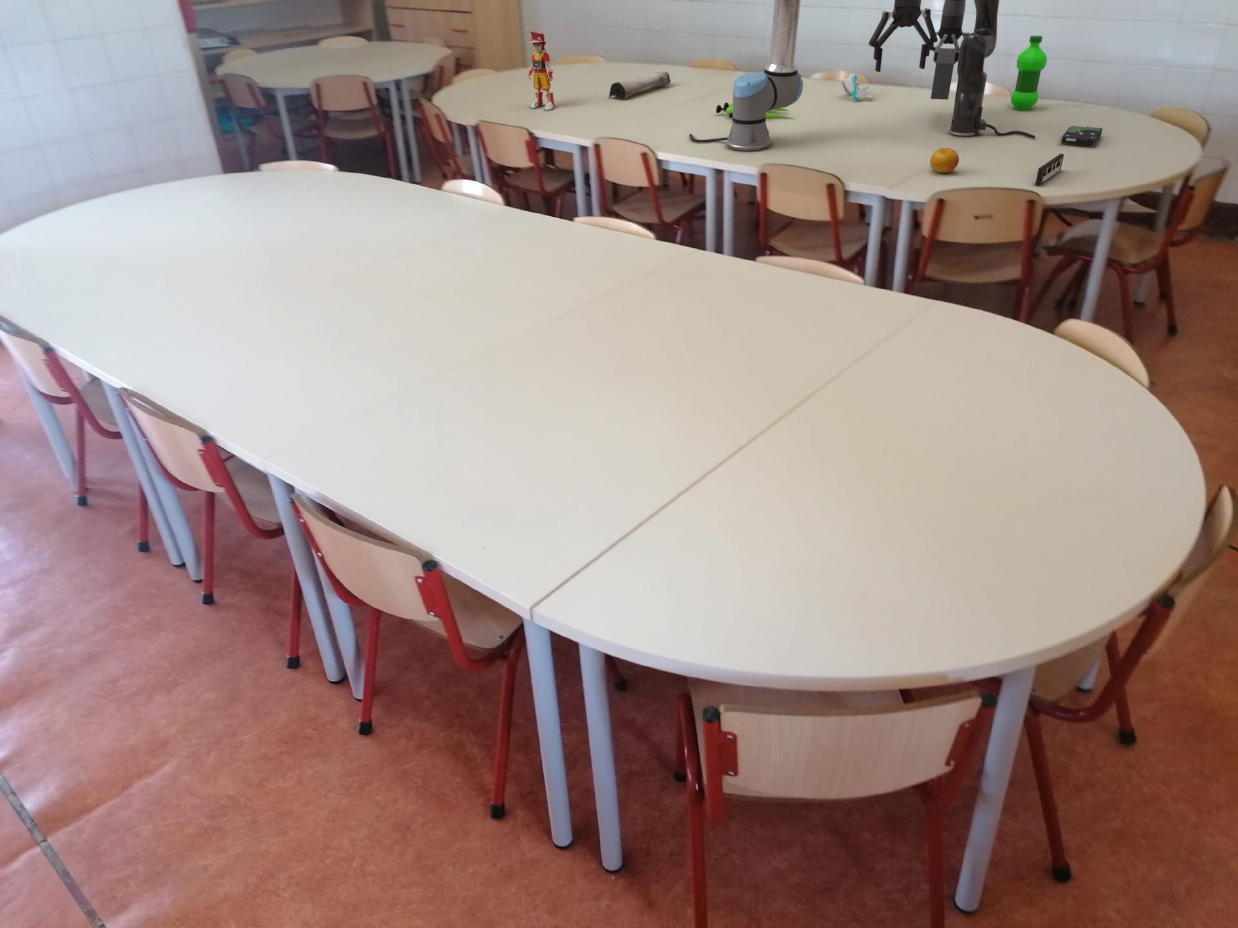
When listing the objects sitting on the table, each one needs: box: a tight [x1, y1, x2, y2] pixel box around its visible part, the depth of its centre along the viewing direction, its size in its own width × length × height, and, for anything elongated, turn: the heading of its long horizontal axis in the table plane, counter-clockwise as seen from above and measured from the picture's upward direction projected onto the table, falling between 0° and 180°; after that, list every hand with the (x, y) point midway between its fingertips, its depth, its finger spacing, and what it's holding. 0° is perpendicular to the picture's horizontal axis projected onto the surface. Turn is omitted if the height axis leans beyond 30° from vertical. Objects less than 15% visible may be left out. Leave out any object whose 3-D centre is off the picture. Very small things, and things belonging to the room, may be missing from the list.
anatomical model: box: [841, 72, 874, 102], centre depth 366 cm, size 15×10×10 cm
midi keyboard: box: [1035, 153, 1065, 186], centre depth 273 cm, size 18×1×5 cm, turn 138°
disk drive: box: [1060, 125, 1103, 147], centre depth 304 cm, size 10×3×15 cm
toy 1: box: [527, 31, 556, 111], centre depth 374 cm, size 12×9×30 cm
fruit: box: [929, 147, 960, 174], centre depth 283 cm, size 8×8×8 cm
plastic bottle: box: [1010, 35, 1048, 111], centre depth 335 cm, size 10×10×25 cm
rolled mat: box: [608, 71, 672, 101], centre depth 395 cm, size 30×9×10 cm
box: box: [930, 47, 956, 101], centre depth 325 cm, size 25×6×12 cm, turn 161°
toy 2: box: [715, 101, 793, 119], centre depth 353 cm, size 28×5×30 cm
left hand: (899, 70), depth 273 cm, fingers open, 13 cm apart
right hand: (945, 63), depth 331 cm, fingers closed on box, 6 cm apart
